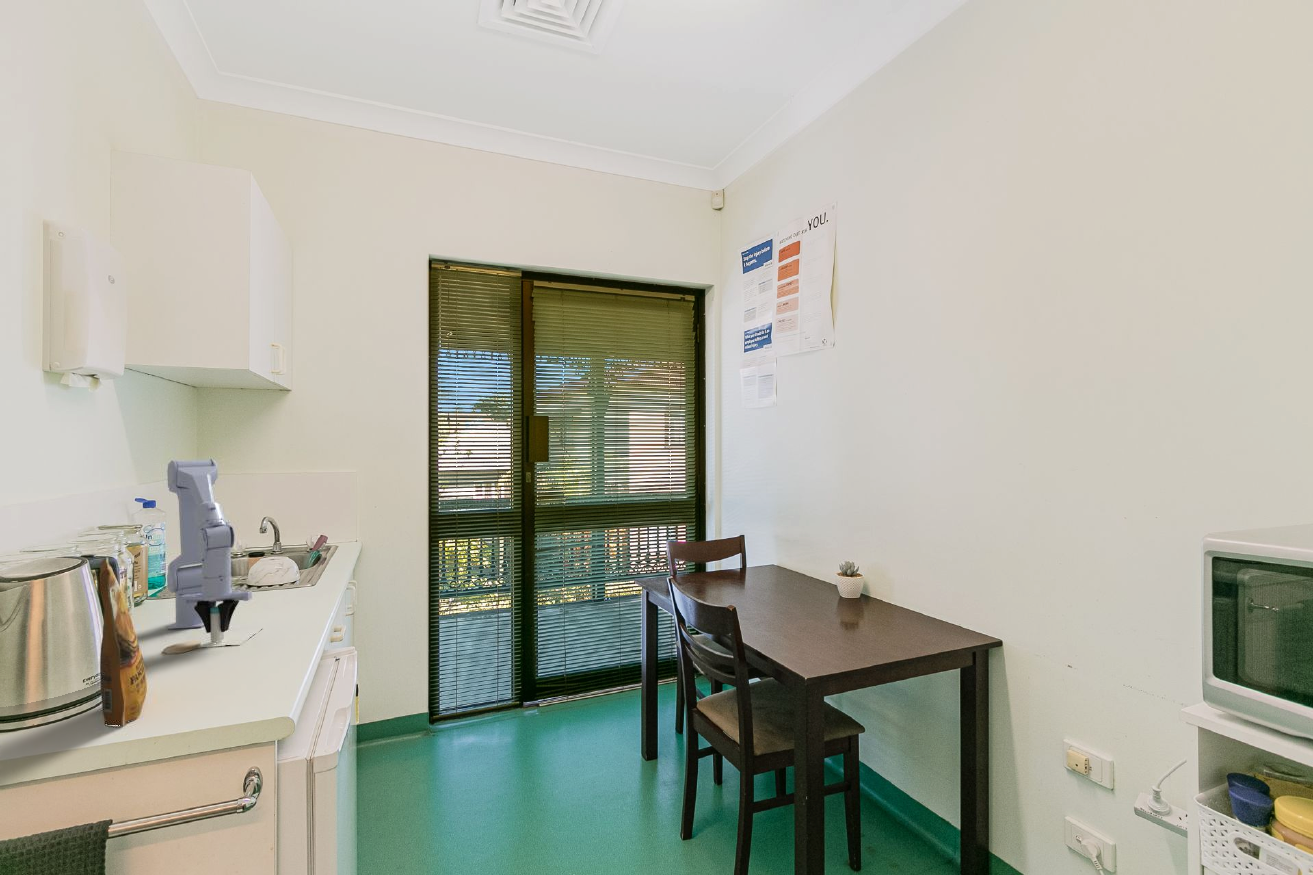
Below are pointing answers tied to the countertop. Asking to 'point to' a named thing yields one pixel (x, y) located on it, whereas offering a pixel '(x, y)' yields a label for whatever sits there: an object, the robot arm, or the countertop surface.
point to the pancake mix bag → (119, 656)
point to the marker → (215, 625)
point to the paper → (220, 643)
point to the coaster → (181, 647)
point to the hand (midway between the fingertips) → (217, 631)
